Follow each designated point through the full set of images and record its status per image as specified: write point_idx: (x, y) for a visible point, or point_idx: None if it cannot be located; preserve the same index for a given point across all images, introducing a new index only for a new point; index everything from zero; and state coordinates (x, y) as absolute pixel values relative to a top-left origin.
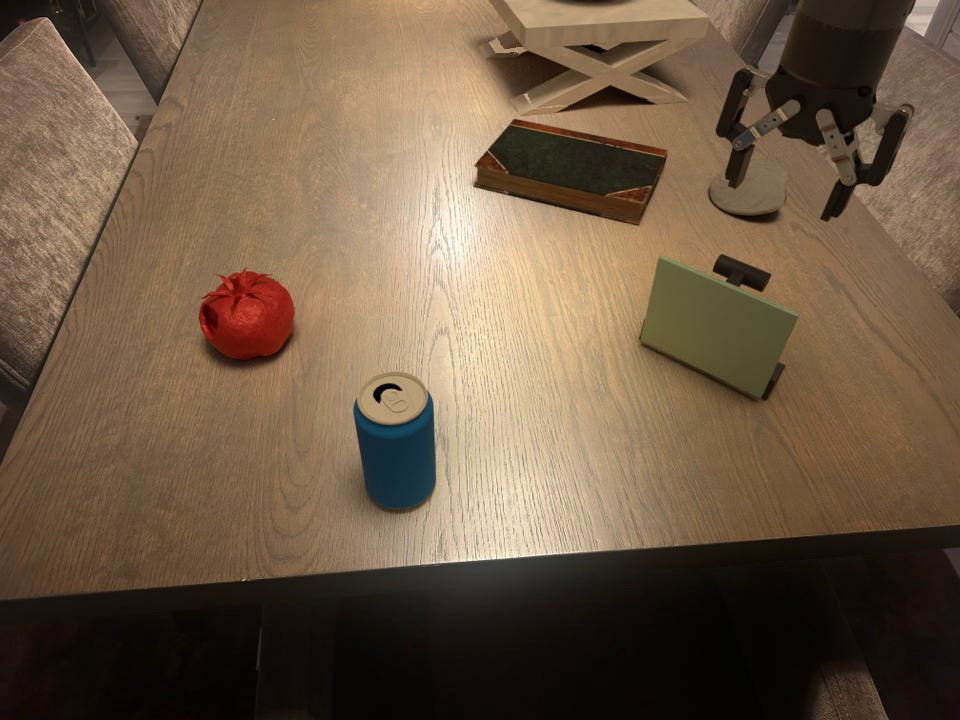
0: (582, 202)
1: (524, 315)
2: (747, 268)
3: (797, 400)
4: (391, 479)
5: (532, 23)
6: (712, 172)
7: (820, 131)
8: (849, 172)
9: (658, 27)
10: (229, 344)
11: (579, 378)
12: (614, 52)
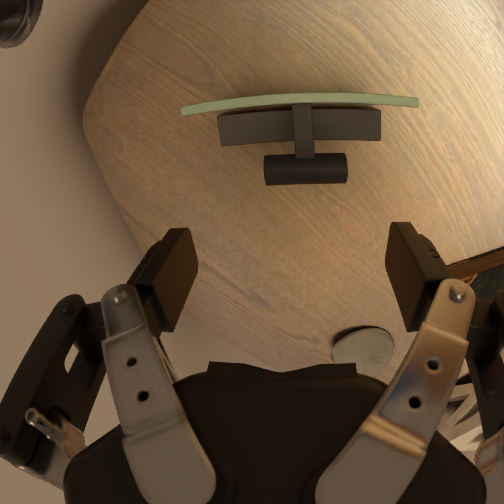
0: (487, 261)
1: (470, 77)
2: (298, 169)
3: (203, 136)
4: None
5: None
6: (394, 358)
7: (207, 413)
8: (113, 310)
9: (463, 429)
10: None
11: (383, 20)
12: None
